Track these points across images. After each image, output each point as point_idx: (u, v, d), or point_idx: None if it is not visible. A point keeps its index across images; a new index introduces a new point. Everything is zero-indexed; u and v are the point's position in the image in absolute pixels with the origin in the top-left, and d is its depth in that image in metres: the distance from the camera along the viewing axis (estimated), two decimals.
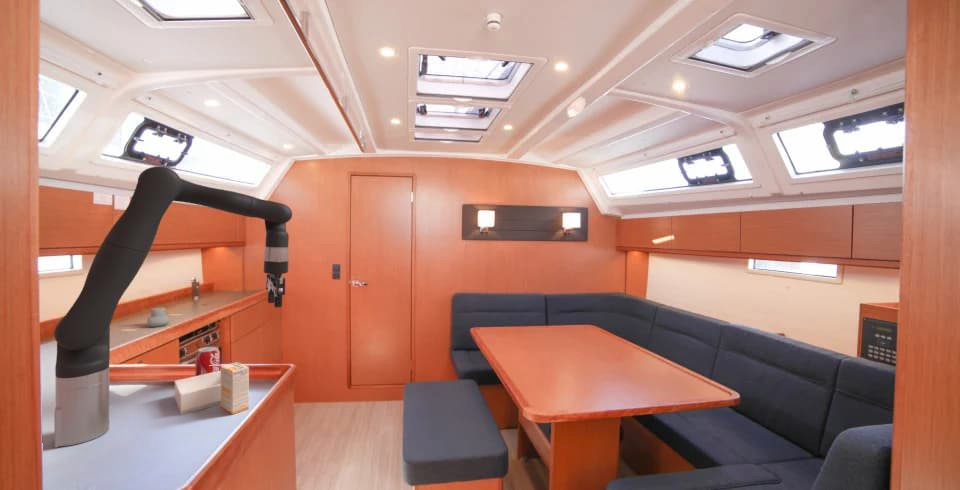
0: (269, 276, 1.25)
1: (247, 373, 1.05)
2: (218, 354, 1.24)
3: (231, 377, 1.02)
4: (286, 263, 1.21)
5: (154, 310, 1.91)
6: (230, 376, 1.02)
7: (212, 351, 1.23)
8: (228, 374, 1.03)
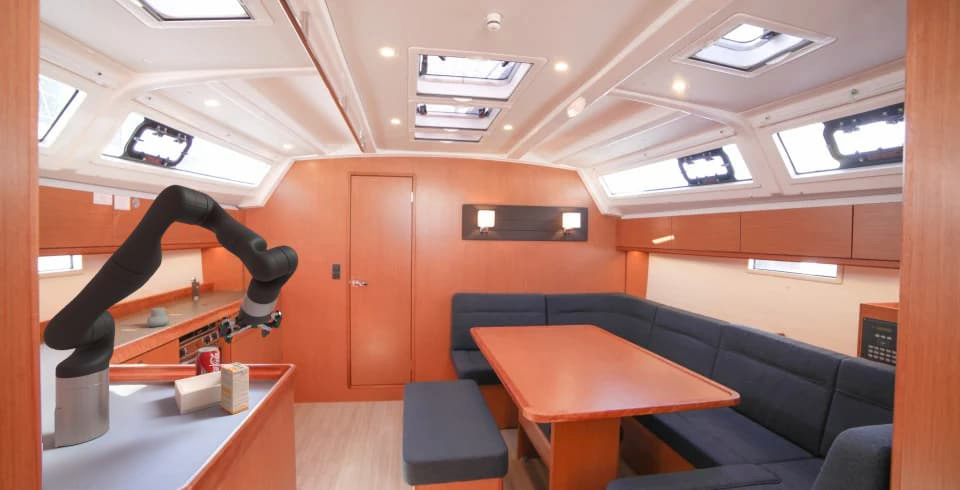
0: None
1: (247, 373, 1.05)
2: (218, 354, 1.24)
3: (231, 377, 1.02)
4: (247, 315, 0.87)
5: (154, 310, 1.91)
6: (230, 375, 1.02)
7: (212, 351, 1.23)
8: (229, 374, 1.03)
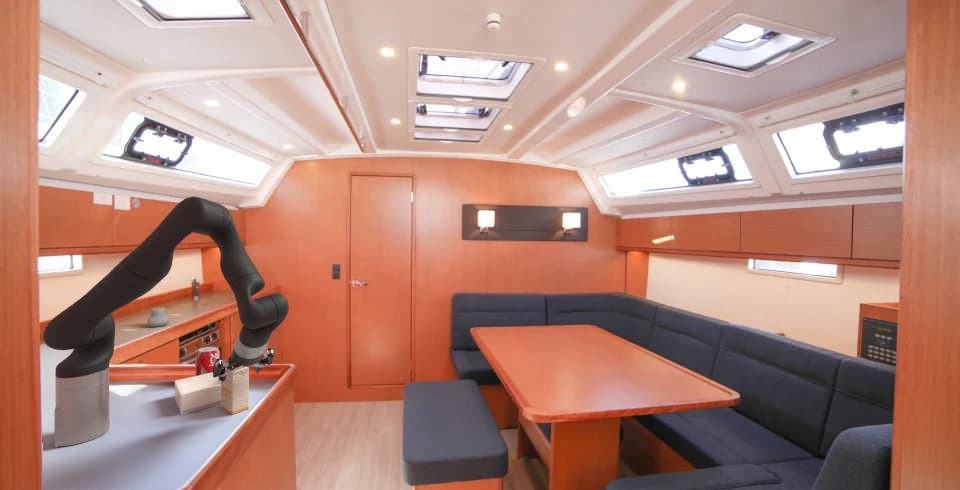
0: None
1: (247, 373, 1.05)
2: (218, 354, 1.24)
3: (231, 377, 1.02)
4: (240, 358, 0.91)
5: (154, 310, 1.91)
6: (230, 376, 1.02)
7: (212, 351, 1.23)
8: (228, 374, 1.03)
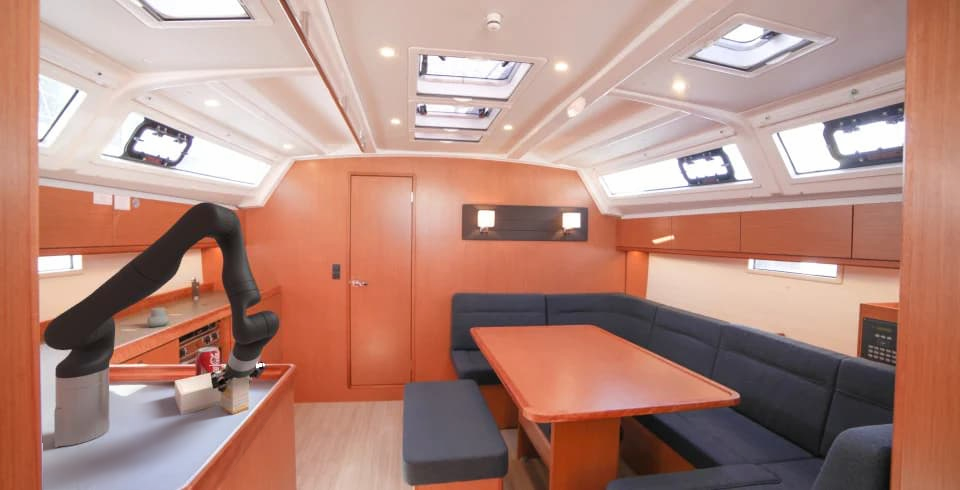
0: None
1: None
2: (218, 354, 1.24)
3: None
4: (233, 370, 0.96)
5: (154, 310, 1.91)
6: None
7: (212, 351, 1.23)
8: None
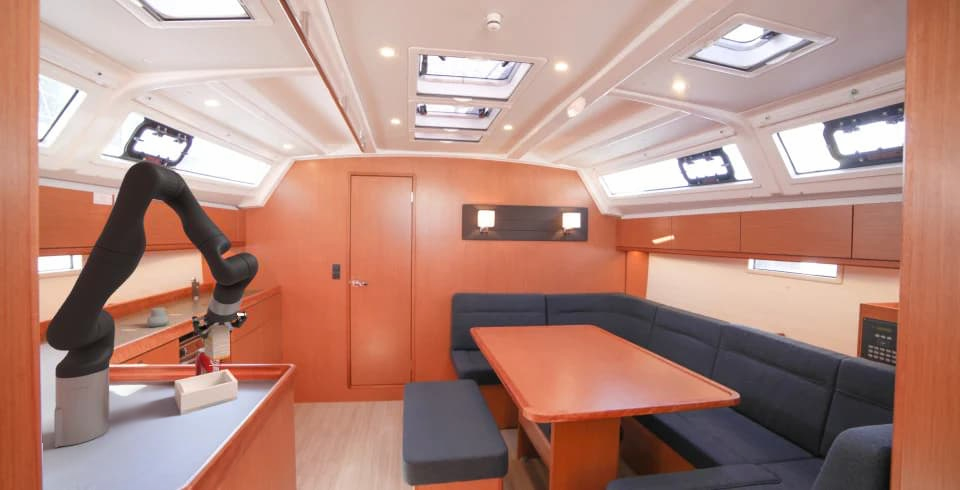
0: None
1: None
2: None
3: None
4: (213, 314, 0.99)
5: (154, 310, 1.91)
6: None
7: None
8: None
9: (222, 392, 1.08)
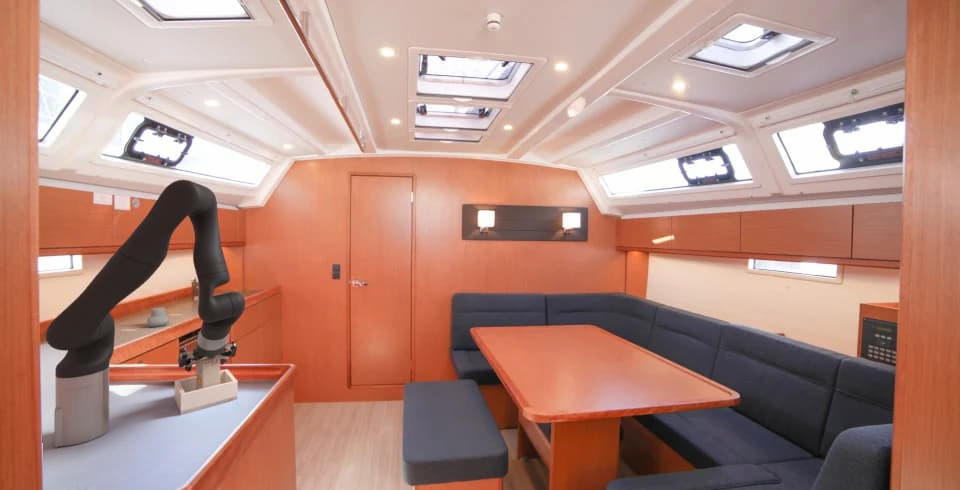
0: None
1: (218, 363, 1.10)
2: None
3: (202, 366, 1.07)
4: (202, 349, 1.01)
5: (154, 310, 1.91)
6: (201, 364, 1.08)
7: None
8: (200, 363, 1.08)
9: (222, 392, 1.08)
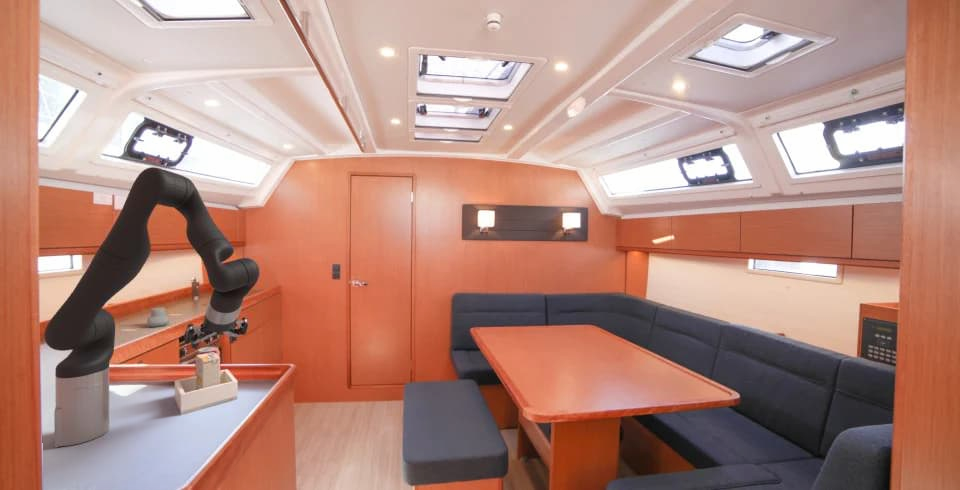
0: None
1: (218, 363, 1.10)
2: (218, 354, 1.24)
3: (202, 366, 1.07)
4: (211, 323, 0.92)
5: (154, 310, 1.91)
6: (201, 364, 1.08)
7: (212, 351, 1.23)
8: (200, 363, 1.08)
9: (222, 392, 1.08)
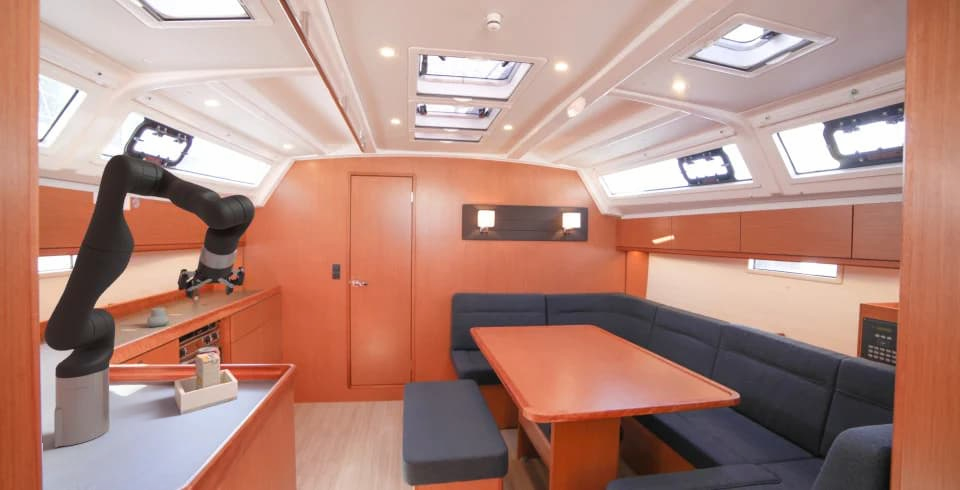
0: None
1: (218, 363, 1.10)
2: (218, 354, 1.24)
3: (202, 366, 1.07)
4: (205, 267, 0.88)
5: (154, 310, 1.91)
6: (201, 364, 1.08)
7: (212, 351, 1.23)
8: (200, 363, 1.08)
9: (222, 392, 1.08)
